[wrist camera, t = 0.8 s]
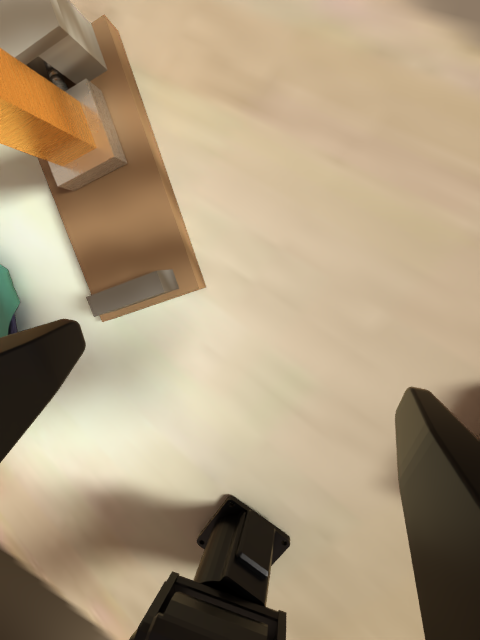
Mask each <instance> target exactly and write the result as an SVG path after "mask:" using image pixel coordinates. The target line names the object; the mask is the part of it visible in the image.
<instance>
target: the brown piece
mask: <svg viewBox="0 0 480 640" xmlns="http://www.w3.org/2000/svg"><path fill="white" fill-rule="evenodd" d="M0 48H1V49H3V50H4V51H6V52H7V53H9V54H10V55H12V56H13V57H14V58H16V59H17V60H19V61H20V62H22V63H23V64H25V65H26V66H28V67H29V68H31V69H32V70H34V71H35V72H37V73H38V74H40V75H41V76H43V77H44V78H45V79H47V80H48V81H50V82H51V80H50V78H49V75H48V73H47V70H46V67H45V65H44V61H46V62H47V63H48V64H50V65H51V66H52V67H54V68H55V69H56V70H58V71H59V72H60V73H62V74H63V76H64V79H65V84H66V85H67V87H68V90H69V89H70V88H72V87H73V86H75V85H76V84H78V83H80V82H81V81H83V80H84V79H87V80H89V81H90V82H91V83H92V84H94V85H95V86H96V87H97V88H99V89H100V90H101V91H102V94H103V96H104V99H105V102H106V105H107V107H108V110H109V113H110V116H111V119H112V121H113V124H114V127H115V130H116V133H117V135H118V138H119V141H120V144H121V147H122V149H123V152H124V155H125V158H126V161H127V163H128V164H126V165H124V166H122V167H120V168H118V169H116V170H114V171H112V172H110V173H108V174H106V175H104V176H102V177H100V178H98V179H96V180H94V181H92V182H90V183H88V184H86V185H84V186H83V187H81V188H79V189H77V190H75V191H72V190H68V189H65V188H61V187H58V186H57V184H56V181H55V179H54V176H53V174H52V171H51V168H50V166H49V163H48V161H47V160H44V159H41V158H38V160H39V162H40V165H41V167H42V170H43V172H44V175H45V177H46V180H47V183H48V185H49V188H50V190H51V193H52V195H53V198H54V200H55V203H56V205H57V208H58V211H59V213H60V216H61V218H62V221H63V223H64V226H65V228H66V231H67V234H68V236H69V239H70V241H71V244H72V246H73V249H74V251H75V254H76V256H77V259H78V262H79V264H80V267H81V269H82V272H83V274H84V277H85V279H86V282H87V285H88V287H89V290H90V292H91V296H88V297H86V298H87V300H88V303H89V305H90V308H91V310H92V313H93V315H94V317H95V316H99V315H100V318H101V320H102V322H104V321H107V320H111V319H114V318H117V317H120V316H123V315H126V314H129V313H132V312H135V311H138V310H140V309H143V308H146V307H149V306H152V305H155V304H158V303H161V302H164V301H167V300H170V299H173V298H176V297H179V296H182V295H185V294H187V293H190V292H193V291H196V290H199V289H202V288H205V287H206V285H205V282H204V279H203V276H202V274H201V271H200V268H199V265H198V262H197V259H196V256H195V253H194V250H193V247H192V244H191V242H190V239H189V236H188V233H187V230H186V227H185V224H184V221H183V218H182V215H181V212H180V209H179V207H178V204H177V201H176V198H175V195H174V192H173V189H172V186H171V183H170V180H169V177H168V174H167V172H166V169H165V166H164V163H163V160H162V157H161V154H160V151H159V148H158V145H157V142H156V140H155V137H154V134H153V131H152V128H151V125H150V122H149V119H148V116H147V113H146V110H145V107H144V105H143V102H142V99H141V96H140V93H139V90H138V87H137V84H136V81H135V78H134V75H133V73H132V70H131V67H130V64H129V61H128V58H127V55H126V52H125V49H124V46H123V43H122V40H121V38H120V35H119V32H118V30H117V29H116V28H115V27H114V25H113V24H112V23H111V22H110V21H109V20H108V18H107V17H106V16H105V15H103V16H101V17H100V18H98V19H97V20H96V21H94V22H93V23H90V22H89V21H88V20H87V19H86V18H85V16H84V15H83V14H82V13H81V12H80V11H79V10H78V9H77V8H76V7H75V6H74V5H73V4H72V3H71V1H70V0H0ZM51 83H52V82H51Z"/></svg>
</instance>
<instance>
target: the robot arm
mask: <svg viewBox="0 0 480 640" xmlns="http://www.w3.org/2000/svg"><path fill="white" fill-rule="evenodd" d="M85 346H86V343H85V340H84V337H83V333H82V330H81V327H80V325H79V323H78V322H77V321H74V320H69V319H60V320H57V321H54V322H50V323H47V324H44V325H40V326H37V327H34V328H31V329H27V330H24V331H21V332H17V333H14V334H11V335H7V336H4V337H1V338H0V463H1V461H2V460H3V459H4V458H5V456H6V455H7V454H8V453H9V451H10V450H11V449H12V448H13V447H14V445H15V444H16V443H17V442H18V440H19V439H20V438H21V437H22V435H23V434H24V433H25V432H26V430H27V429H28V428H29V427H30V425H31V424H32V423H33V422H34V420H35V419H36V418H37V417H38V415H39V414H40V413H41V412H42V410H43V409H44V408H45V407H46V405H47V404H48V403H49V402H50V400H51V399H52V398H53V397H54V395H55V394H56V393H57V391H58V390H59V388H60V387H61V385H62V384H63V382H64V381H65V379H66V378H67V376H68V375H69V373H70V372H71V370H72V369H73V367H74V366H75V364H76V363H77V361H78V360H79V358H80V357H81V355H82V354H83V352H84V350H85ZM395 427H396V446H397V466H398V480H399V487H400V494H401V500H402V506H403V512H404V517H405V523H406V529H407V535H408V541H409V547H410V552H411V558H412V564H413V570H414V576H415V582H416V587H417V593H418V599H419V605H420V611H421V617H422V623H423V628H424V634H425V640H480V441H479V440H478V439H477V438H476V437H475V436H474V435H473V434H472V433H471V432H470V431H469V430H468V429H467V428H466V427H465V426H464V425H463V424H462V423H461V422H460V421H459V420H458V419H457V418H456V417H455V416H454V415H453V414H452V413H451V412H450V411H449V410H448V409H447V408H446V407H445V406H444V405H443V404H442V403H441V402H440V401H439V400H438V399H437V398H436V397H435V396H434V395H433V394H432V393H431V392H430V391H428V390H426V389H421V388H416V387H409V388H407V390H406V391H405V393H404V395H403V397H402V399H401V401H400V404H399V406H398V408H397V410H396V414H395ZM230 502H232V503H233V504H232V503H230ZM197 543H198V545H199V546H201V547H202V548H203V549H205V550H204V553H203V556H202V558H201V561H200V564H199V567H198V569H197V572H196V575H195V578H194V580H190V579H188V578H185V577H182V576H179V574H178V573H176V572H173V571H172V573H171V575H170V576H169V578H168V580H167V581H165V582H164V584H163V586H162V587H161V589H160V591H159V593H158V594H157V596H156V598H155V599H154V601H153V603H152V604H151V606H150V608H149V610H148V611H147V613H146V615H145V616H144V618H143V620H142V621H141V623H140V625H139V627H138V629H137V630H136V631H135V632H134V633H133V635H132V636H131V637H130V639H129V640H286V612H283V611H280V610H279V611H275V610H273V609H270V608H267V607H266V601H267V594H268V586H269V578H270V571H271V566H272V565H273V563H274V562H275V561H276V560H277V559H278V558H279V557H280V556H281V555H282V554H283V553H284V552H285V551H286V549H287V548H288V547H289V546H290V537H289V536H288V535H286V534H285V533H284V532H282V531H281V530H279V529H278V528H277V527H275V526H274V525H272V524H271V523H270V522H268V521H267V520H266V519H264V518H263V517H261V516H260V515H259V514H257V513H256V512H254V511H253V510H252V509H250V508H249V507H247V506H246V505H245V504H243V503H242V502H240V501H239V500H238V499H236V498H235V497H232V496H230V497H228V498H227V499H226V501H225V502H224V503H223V505H222V506H221V507H220V509H219V510H218V511H217V512H216V514H215V515H214V516H213V518H212V519H211V520H210V522H209V523H208V524H207V526H206V527H205V528H204V529H203V531H202V532H201V533H200V535H199V537H198V539H197Z"/></svg>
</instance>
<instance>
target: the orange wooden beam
mask: <svg viewBox="0 0 480 640" xmlns="http://www.w3.org/2000/svg"><path fill="white" fill-rule="evenodd" d="M44 65H45V67H46V70H47V73H48V75H49V78H50V80H51V82H52V83H51V82H50V81H48V80H47V79H45V78H44V77H43V76H41V75H40V74H38V73H37V72H35V71H34V70H32V69H31V68H29V67H28V66H26V65H25V64H23V63H22V62H20V61H19V60H17V59H16V58H14V57H13V56H12V55H10V54H9V53H7V52H6V51H4V50H3V49H1V48H0V143H1V144H3V145H6V146H9V147H11V148H14V149H17V150H20V151H22V152H25V153H28V154H30V155H33V156H36V157H38V158H41V159H44V160H47V161H48V163H49V166H50V168H51V171H52V174H53V176H54V179H55V181H56V184H57V186H58V187H61V188H65V189H68V190H72V191H75V190H77V189H79V188H81V187H83V186H84V185H86V184H88V183H90V182H92V181H94V180H96V179H98V178H100V177H102V176H104V175H106V174H108V173H110V172H112V171H114V170H116V169H118V168H120V167H122V166H124V165H126V164H128V163H127V161H126V158H125V155H124V152H123V149H122V147H121V144H120V141H119V138H118V135H117V133H116V130H115V127H114V124H113V121H112V119H111V116H110V113H109V110H108V107H107V105H106V102H105V99H104V96H103V94H102V91H101V90H100V89H99V88H97V87H96V86H95V85H94V84H92V83H91V82H90V81H89V80H87V79H84V80H83V81H81V82H80V83H78V84H76V85H75V86H73V87H72V88H70V89H69V90H68V87H67V85H66V84H65V79H64V76H63V74H62V73H60V72H59V71H58V70H56V69H55V68H54V67H52V66H51V65H50V64H48V63H47V62H46V61H44Z"/></svg>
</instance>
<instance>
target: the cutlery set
mask: <svg viewBox="0 0 480 640" xmlns="http://www.w3.org/2000/svg"><path fill="white" fill-rule="evenodd" d="M19 303H20V301H19V298H18V296H17V293H16V291H15V289H14V287H13V284H12V280H11V278H10V275H9V272H8V270H7V269H6V268H5V267H3V266H2V265H0V338H1V337H4V336H7V335H11V334H14V333H17V327H16V319H15V311H16V309H17V308H18V305H19Z"/></svg>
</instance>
